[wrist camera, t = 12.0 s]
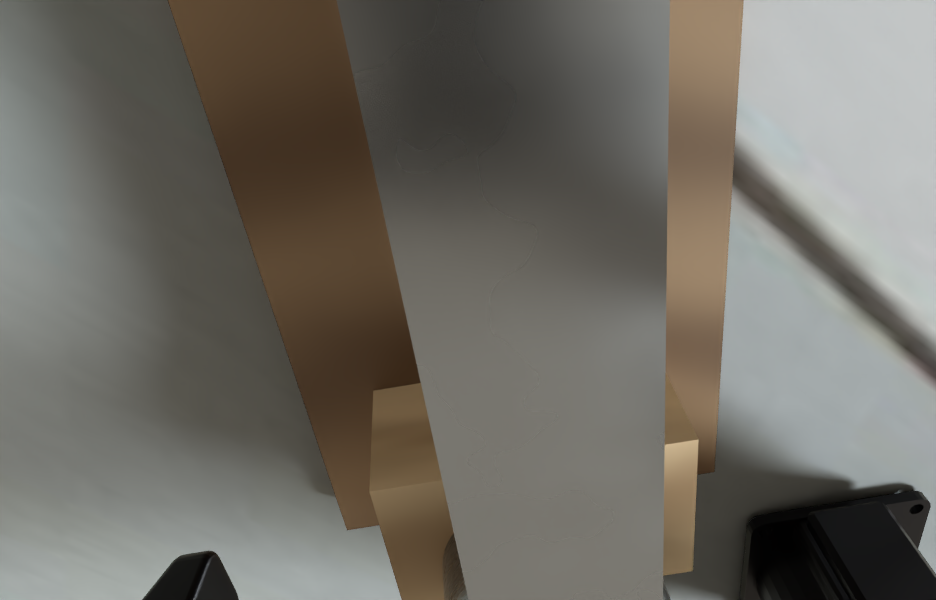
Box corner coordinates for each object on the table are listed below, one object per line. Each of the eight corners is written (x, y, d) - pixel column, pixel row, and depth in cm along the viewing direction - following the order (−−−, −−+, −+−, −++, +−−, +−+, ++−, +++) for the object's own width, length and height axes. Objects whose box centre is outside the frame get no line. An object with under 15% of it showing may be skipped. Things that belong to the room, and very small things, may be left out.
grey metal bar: (648, 605, 21) (703, 774, 18) (458, 635, 21) (471, 810, 18) (640, -944, 7) (890, -1732, 4) (96, -853, 7) (-210, -1545, 4)
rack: (701, 445, 25) (762, 571, 21) (348, 501, 25) (339, 637, 21) (752, -630, 12) (944, -874, 8) (20, -508, 12) (-180, -683, 8)
